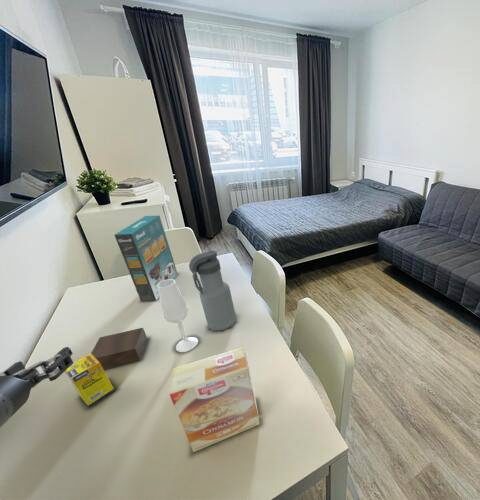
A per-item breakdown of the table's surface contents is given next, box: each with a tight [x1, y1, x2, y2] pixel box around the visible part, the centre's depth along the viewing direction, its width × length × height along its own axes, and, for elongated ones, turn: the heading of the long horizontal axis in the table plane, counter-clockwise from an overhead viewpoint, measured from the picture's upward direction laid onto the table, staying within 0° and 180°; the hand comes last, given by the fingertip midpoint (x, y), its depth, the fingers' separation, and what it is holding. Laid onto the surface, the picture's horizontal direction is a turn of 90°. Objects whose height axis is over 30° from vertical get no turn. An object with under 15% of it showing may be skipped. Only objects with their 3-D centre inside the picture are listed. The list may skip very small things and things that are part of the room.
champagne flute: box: [157, 278, 199, 353], centre depth 84 cm, size 7×7×24 cm
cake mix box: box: [114, 215, 178, 302], centre depth 116 cm, size 22×6×30 cm, turn 6°
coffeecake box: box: [168, 346, 261, 453], centre depth 61 cm, size 15×7×20 cm, turn 114°
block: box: [90, 327, 149, 371], centre depth 85 cm, size 12×10×5 cm
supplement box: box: [64, 353, 115, 408], centre depth 71 cm, size 6×6×11 cm
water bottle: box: [188, 250, 237, 332], centre depth 93 cm, size 10×10×28 cm
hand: (45, 357), depth 60 cm, fingers open, 8 cm apart
